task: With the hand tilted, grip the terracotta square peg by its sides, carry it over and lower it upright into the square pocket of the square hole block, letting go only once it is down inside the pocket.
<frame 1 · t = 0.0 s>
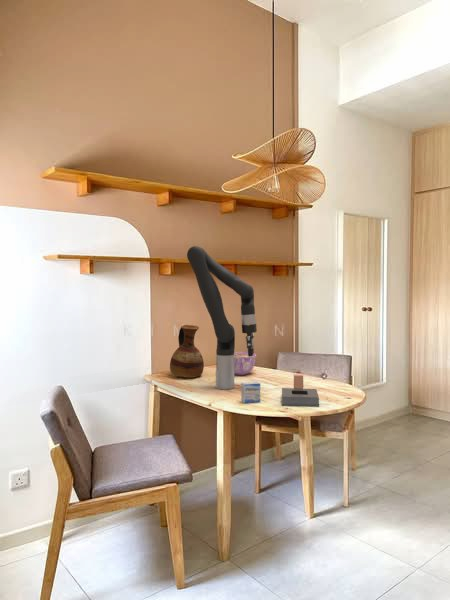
hand: (251, 354, 230), 17 cm above the table, tool pointing down, fingers open, 8 cm apart
medicine box: (250, 402, 205), on the table
ceramic pitcher: (186, 376, 261), on the table
bowl of food: (239, 374, 267), on the table
square hole block: (299, 401, 205), on the table
square peg: (298, 392, 221), on the table
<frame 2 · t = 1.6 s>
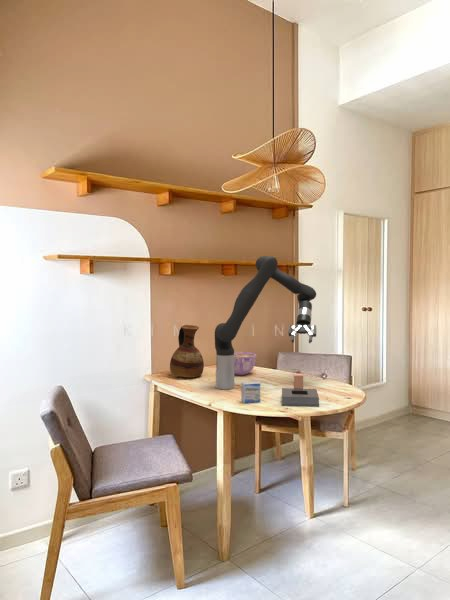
hand: (301, 342, 230), 24 cm above the table, tool tilted 45°, fingers open, 8 cm apart
nothing on the table moved.
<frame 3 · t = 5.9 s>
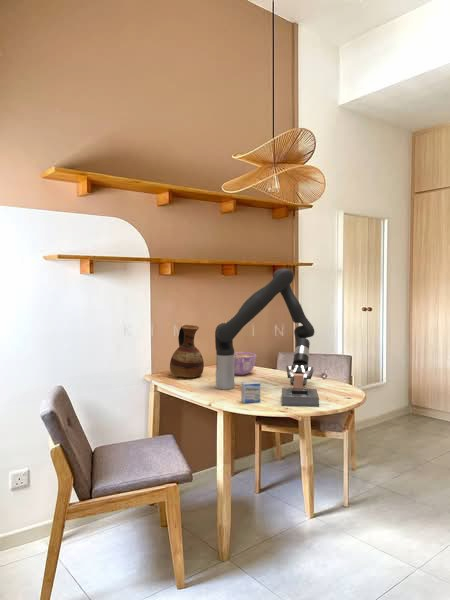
hand: (298, 385, 219), 4 cm above the table, tool tilted 45°, fingers closed on square peg, 5 cm apart
square peg: (298, 392, 221), on the table, touching gripper
everything else where it was.
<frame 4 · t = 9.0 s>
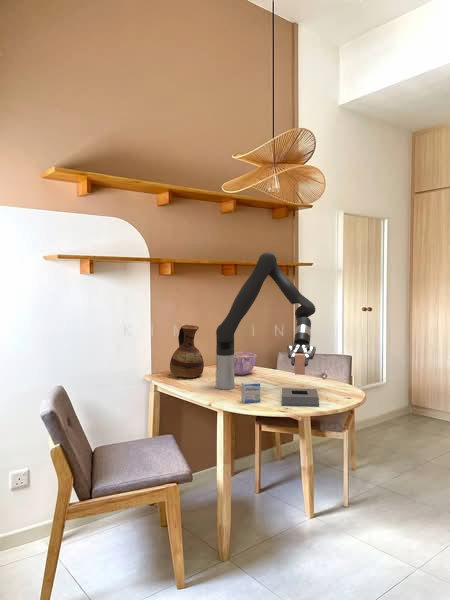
hand: (299, 365, 206), 16 cm above the table, tool tilted 45°, fingers closed on square peg, 5 cm apart
square peg: (299, 373, 208), point 12 cm above the table, touching gripper
everything else where it was.
when the fingers open (6 cm above the table, at t = 12.3 s): square peg drops 1 cm, resting on square hole block.
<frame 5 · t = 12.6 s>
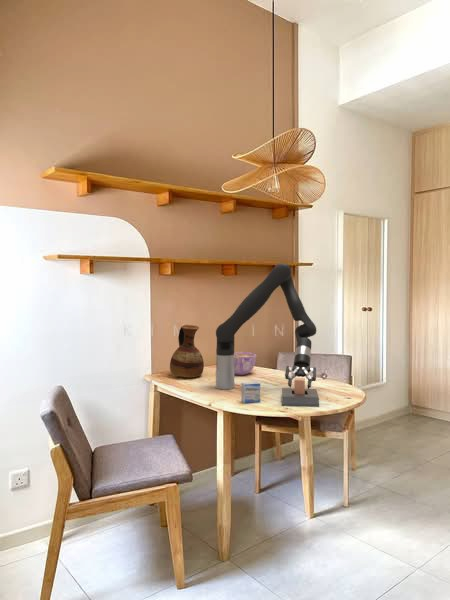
hand: (299, 387, 203), 7 cm above the table, tool tilted 45°, fingers open, 8 cm apart
square peg: (299, 399, 205), point 1 cm above the table, touching square hole block
everything else where it was.
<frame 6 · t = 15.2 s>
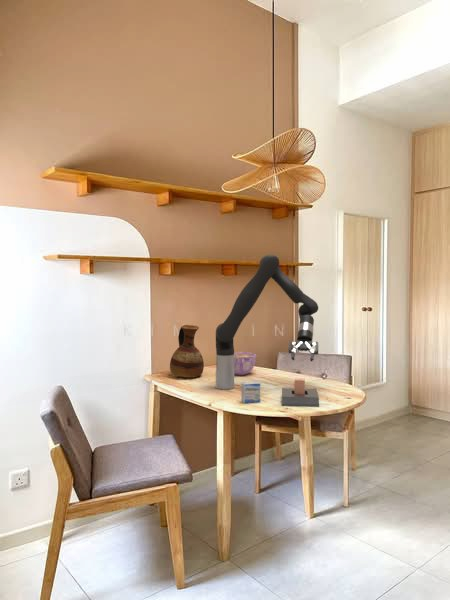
hand: (302, 360, 214), 17 cm above the table, tool tilted 45°, fingers open, 8 cm apart
nothing on the table moved.
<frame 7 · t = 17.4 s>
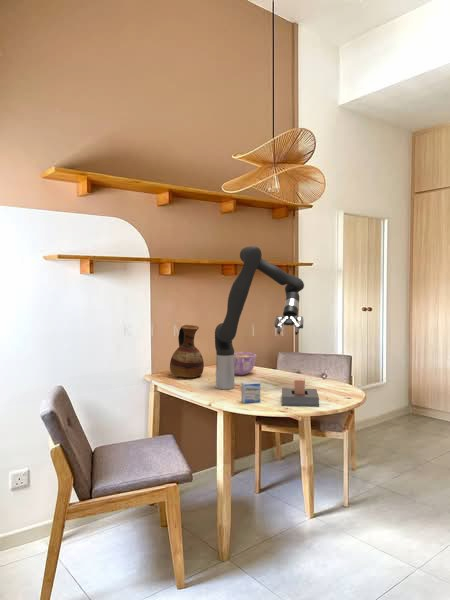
hand: (287, 333, 224), 29 cm above the table, tool tilted 45°, fingers open, 8 cm apart
nothing on the table moved.
at the end: square peg 0.1 cm off-centre on the square hole block, point 1.0 cm above the square hole block's base; square peg tilted 0°; the gripper is holding nothing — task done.
